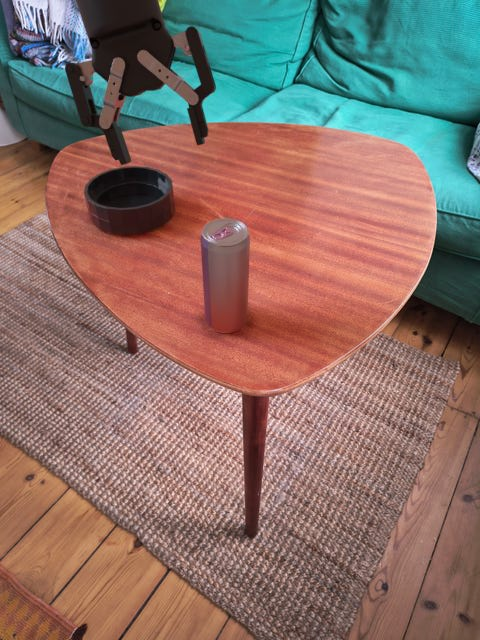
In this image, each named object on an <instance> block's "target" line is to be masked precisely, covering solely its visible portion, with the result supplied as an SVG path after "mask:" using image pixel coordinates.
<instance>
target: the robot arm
mask: <svg viewBox="0 0 480 640" xmlns="http://www.w3.org/2000/svg"><path fill="white" fill-rule="evenodd" d="M75 4H76V6H77V9H78V12H79V16H80V18H81V21H82V24H83V27H84V30H85V33H86V36H87V39H88V42H89V44H90V48H91V53H92V55H91V59H90V60H85V61H82V62H72V61H69V62H67V63H66V64H65V65H64V71H65V74H66V77H67V81H68V84H69V87H70V91H71V94H72V97H73V100H74V105H75V107H76V110H77V114H78V117H79V120H80V123H81V125H82V126H83V127H86V128H96V129H100V130H101V131H102V133H103V135H104V137H105V140H106V143H107V146H108V148H109V151H110V154H111V157H112V158H113V159H114V161H115V162H116V161H118V162H119V164H120V165H121V166H124V165H128V164H130V163H131V162H132V158H131V155H130V152H129V148H128V146H127V142H126V140H125V139H126V138H125V137H124V134H123V131H122V128H121V126H118V121H119V117H120V114H121V110H122V108H123V106H124V104H125V101H126V97H128V98H134V97H138V96H140V95H142V94H144V93H146V92H151V91H152V92H156V91H159V90H162V88H163V87H164V86H165V85H166V86H167V87H168V88H169V89H170V90H172V91H173V92H175V93H176V94H177V95H178V96H179V97H181V98H182V99H183V100H184V101H185V102H186V103H187V105H188V107H187V108H186V110H187V114H188V119H189V122H190V125H191V130H192V133H193V136H194V140H195V144H196V145H197V146H201V145H204V144H205V143H206V138H207V137H209V127H208V123H207V119H206V115H205V111H204V107H203V103H204V101H205V99H207V98H208V97H209V96H210V95H212V94H214V93H215V92H216V90H217V85H216V81H215V78H214V75H213V71H212V68H211V65H210V61H209V58H208V55H207V52H206V48H205V45H204V41H203V38H202V35H201V32H200V31H199V30H198V29H197V28H196V27H195V26H193V25H192V26H191V25H189V26H188V27H186V29H185V30H184V31H182V32H179V33H176V34H173V35H171V34H170V32H169V31H168V29H167V27H166V25H165V19H164V17H163V13H162V10H161V6H160V1H159V0H75ZM177 48H179V49H181V50H182V52H183V54H184V55H186V56H188V57H191V58H192V61H193V64H194V67H195V70H196V73H197V76H198V80H199V83H200V85H198V86H197V87H196V88H194V87H192V86H191V85H190V84H189V83H188V82H187V81H186V80H185V79H184V78H183V77H182V76H181V75H179V74H178V73H177V72H176V71H175V70H174V69H172V68H171V67H172V64H173V61H174V58H175V54H176V50H177ZM94 73H96V74H97V75H98V76H99V77H100V78H102V79H103V80H104V81H105V82H107V85H106V87H105V93H104V97H103V99H102V103H103V105H102V108H101V112H100V113H98V110H97V106H96V103H95V100H94V96H93V93H92V89H91V85H93V83H94Z"/></svg>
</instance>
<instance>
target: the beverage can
mask: <svg viewBox="0 0 480 640" xmlns="http://www.w3.org/2000/svg"><path fill="white" fill-rule="evenodd" d="M250 249H251V237H250V233H249V228H248V226H247V225H246V224H245V223H244V222H243V221H240V220H238V219H235V218H229V217H220V218H215V219H212V220H210V221H208V222H207V223H205V224H204V225H203V227H202V229H201V236H200V252H201V253H200V255H201V271H202V290H203V305H204V306H203V307H204V320H205V322H206V324H207V326H209V328H211V329H212V330H213V331H215V332H218V333H220V334H231V333H235V332H237V331H239V330H240V329H242V328H243V327H244V326H245V325H246V324H247V321H248V317H249V316H248V313H249V312H248V311H249V284H250V282H249V280H250V252H251V251H250Z"/></svg>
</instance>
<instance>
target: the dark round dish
mask: <svg viewBox="0 0 480 640" xmlns="http://www.w3.org/2000/svg"><path fill="white" fill-rule="evenodd" d="M83 196H84V200H85V203H86V207H87V212H88V216H89V219H90V221H91V222H92V225H93V226H95V228H97V229H98V230H100V231H102V232H104V233H108V234H111V235H118V236H135V235H137V236H138V235H143V234H147V233H151V232H154V231H156V230H158V229H160V228H162V227H164V226H166V225H167V224H168V223H169V222H170V221H172V219H173V217H174V215H175V213H176V203H175V196H174V185H173V180H172V179H171V177H170V176H169V175H168V174H167V173H166V172H164V171H162V170H160V169H157V168H154V167H149V166H139V165H131V166H128V165H127V166H120V167H116V168H111V169H108V170H106V171H103V172H100V173H98V174H96V175H95V176H93V177H92V178H90V179H88V182H87V183H86V184H85V186H84V190H83Z"/></svg>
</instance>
